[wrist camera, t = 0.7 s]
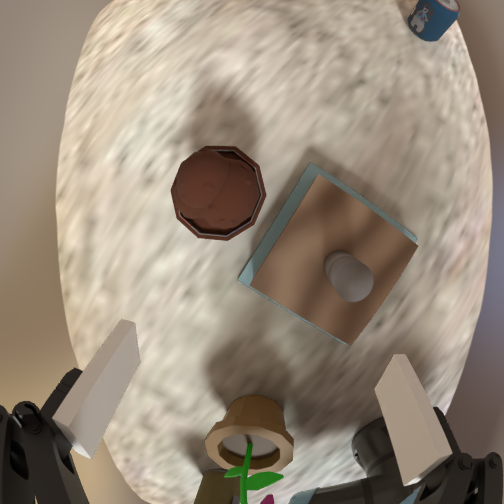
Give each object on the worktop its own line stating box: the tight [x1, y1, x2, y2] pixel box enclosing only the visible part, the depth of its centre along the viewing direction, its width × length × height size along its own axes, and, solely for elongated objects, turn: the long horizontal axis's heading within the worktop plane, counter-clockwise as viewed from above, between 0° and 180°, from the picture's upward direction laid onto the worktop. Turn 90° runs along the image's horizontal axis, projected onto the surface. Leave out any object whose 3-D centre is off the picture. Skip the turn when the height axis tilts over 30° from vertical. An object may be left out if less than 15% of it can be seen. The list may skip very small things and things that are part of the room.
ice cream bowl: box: [171, 146, 266, 241], centre depth 32 cm, size 11×11×15 cm
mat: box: [238, 162, 418, 345], centre depth 39 cm, size 20×20×1 cm
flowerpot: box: [205, 395, 294, 504], centre depth 30 cm, size 14×14×30 cm
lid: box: [249, 174, 418, 346], centre depth 32 cm, size 17×17×13 cm
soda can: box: [408, 0, 460, 41], centre depth 24 cm, size 7×7×12 cm
